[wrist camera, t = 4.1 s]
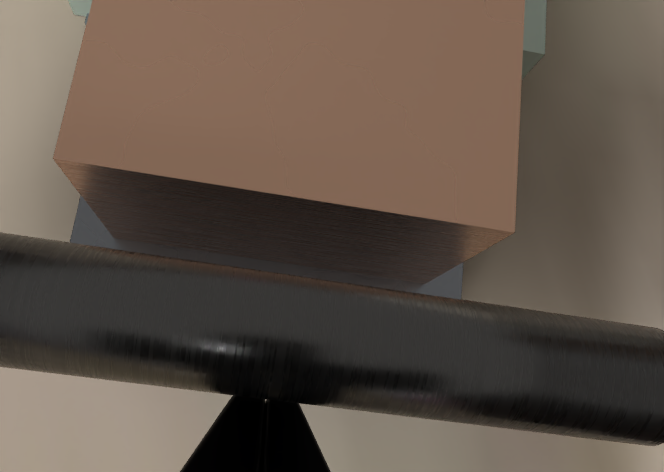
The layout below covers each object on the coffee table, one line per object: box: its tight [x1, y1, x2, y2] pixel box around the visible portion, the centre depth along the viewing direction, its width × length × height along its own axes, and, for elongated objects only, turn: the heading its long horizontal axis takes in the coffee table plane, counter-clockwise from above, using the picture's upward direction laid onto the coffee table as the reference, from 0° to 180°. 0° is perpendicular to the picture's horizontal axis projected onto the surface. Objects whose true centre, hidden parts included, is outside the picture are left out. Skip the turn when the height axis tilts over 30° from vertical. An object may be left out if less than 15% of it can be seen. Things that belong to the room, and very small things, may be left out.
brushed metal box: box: [0, 0, 664, 446], centre depth 12 cm, size 9×8×10 cm
